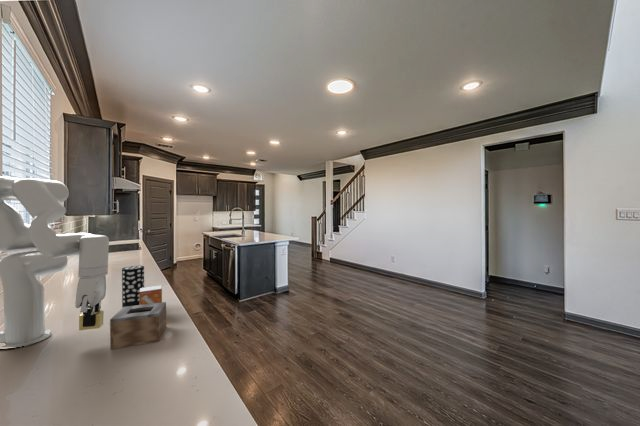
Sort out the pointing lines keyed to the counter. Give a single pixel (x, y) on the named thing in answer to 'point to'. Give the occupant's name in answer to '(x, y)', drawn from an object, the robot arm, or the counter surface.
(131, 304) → the white-spotted black cylinder
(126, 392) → the counter surface
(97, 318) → the yellow rectangular block
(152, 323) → the coin box
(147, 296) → the small box
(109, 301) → the counter surface
